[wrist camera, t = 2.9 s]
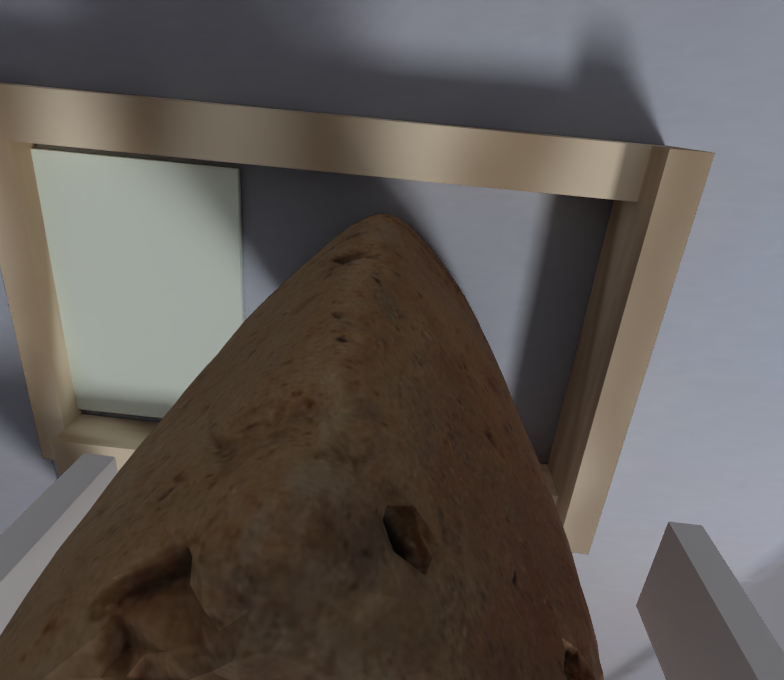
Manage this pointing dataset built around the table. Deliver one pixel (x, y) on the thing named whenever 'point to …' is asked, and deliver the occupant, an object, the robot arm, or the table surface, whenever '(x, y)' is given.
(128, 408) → the front mat
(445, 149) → the frame
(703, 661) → the robot arm
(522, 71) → the table surface
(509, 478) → the brown rough stone
